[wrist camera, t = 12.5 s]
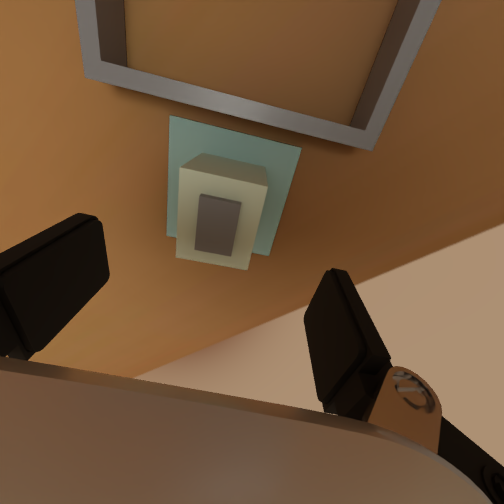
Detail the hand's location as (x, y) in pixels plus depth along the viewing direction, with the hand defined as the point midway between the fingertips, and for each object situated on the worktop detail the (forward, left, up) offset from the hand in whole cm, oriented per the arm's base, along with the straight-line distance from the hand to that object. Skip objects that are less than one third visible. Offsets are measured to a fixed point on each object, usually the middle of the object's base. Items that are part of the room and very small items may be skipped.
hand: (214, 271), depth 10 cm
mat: (+1, 0, -11) cm, 11 cm away
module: (+1, 0, -11) cm, 11 cm away
